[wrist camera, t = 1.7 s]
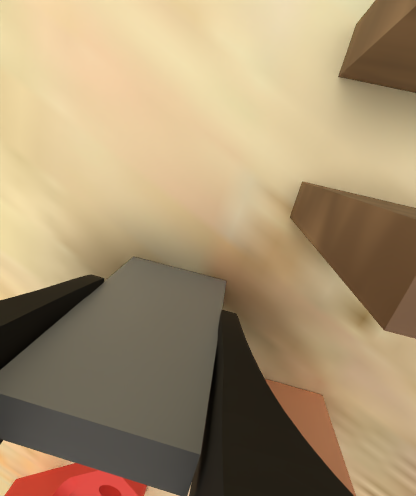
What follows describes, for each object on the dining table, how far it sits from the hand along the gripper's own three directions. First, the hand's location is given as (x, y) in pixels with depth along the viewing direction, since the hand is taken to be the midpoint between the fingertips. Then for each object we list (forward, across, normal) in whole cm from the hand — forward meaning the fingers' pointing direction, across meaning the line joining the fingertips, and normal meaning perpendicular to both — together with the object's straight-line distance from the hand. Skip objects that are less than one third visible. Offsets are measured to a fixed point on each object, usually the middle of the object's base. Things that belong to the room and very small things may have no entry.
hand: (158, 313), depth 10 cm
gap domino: (+3, 0, 0) cm, 3 cm away
